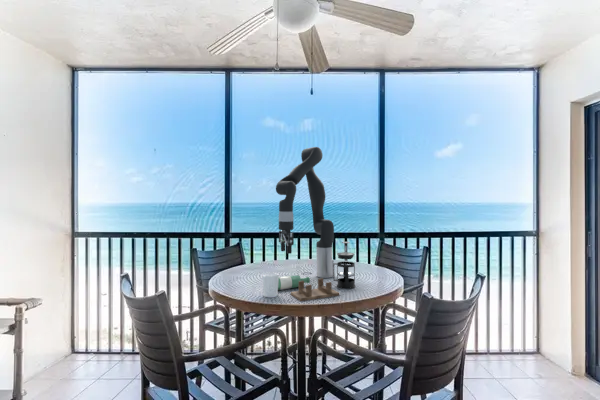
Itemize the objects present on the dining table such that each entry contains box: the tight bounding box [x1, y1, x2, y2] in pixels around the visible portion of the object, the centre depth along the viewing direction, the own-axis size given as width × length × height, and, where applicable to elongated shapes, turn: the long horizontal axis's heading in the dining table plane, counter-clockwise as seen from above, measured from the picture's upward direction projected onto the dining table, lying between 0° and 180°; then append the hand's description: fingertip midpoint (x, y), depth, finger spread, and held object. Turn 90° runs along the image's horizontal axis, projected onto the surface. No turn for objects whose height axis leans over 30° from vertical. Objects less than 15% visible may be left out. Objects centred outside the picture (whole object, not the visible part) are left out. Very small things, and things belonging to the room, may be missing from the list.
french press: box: [333, 241, 356, 290], centre depth 170 cm, size 12×9×23 cm
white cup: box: [261, 271, 280, 298], centre depth 155 cm, size 8×8×10 cm
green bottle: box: [278, 274, 311, 291], centre depth 168 cm, size 20×6×6 cm, turn 114°
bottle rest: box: [290, 278, 340, 302], centre depth 155 cm, size 20×11×6 cm, turn 114°
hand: (286, 252), depth 167 cm, fingers open, 8 cm apart
